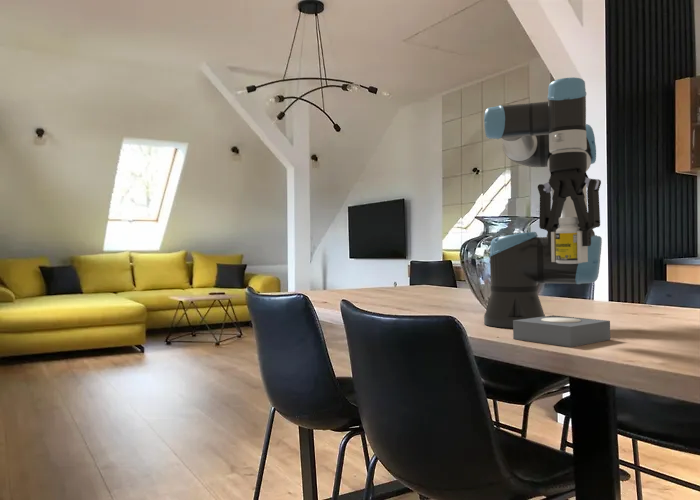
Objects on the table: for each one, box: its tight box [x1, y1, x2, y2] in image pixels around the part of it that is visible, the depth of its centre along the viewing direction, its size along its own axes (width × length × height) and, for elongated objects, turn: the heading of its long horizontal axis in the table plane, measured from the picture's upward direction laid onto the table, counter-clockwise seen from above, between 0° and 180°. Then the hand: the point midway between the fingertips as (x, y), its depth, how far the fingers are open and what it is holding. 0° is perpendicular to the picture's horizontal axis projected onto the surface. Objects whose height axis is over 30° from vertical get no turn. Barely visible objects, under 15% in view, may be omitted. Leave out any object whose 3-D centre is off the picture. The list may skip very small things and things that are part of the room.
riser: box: [512, 315, 611, 348], centre depth 126 cm, size 14×14×4 cm
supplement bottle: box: [556, 217, 582, 264], centre depth 126 cm, size 5×5×10 cm
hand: (569, 261), depth 126 cm, fingers closed on supplement bottle, 5 cm apart
